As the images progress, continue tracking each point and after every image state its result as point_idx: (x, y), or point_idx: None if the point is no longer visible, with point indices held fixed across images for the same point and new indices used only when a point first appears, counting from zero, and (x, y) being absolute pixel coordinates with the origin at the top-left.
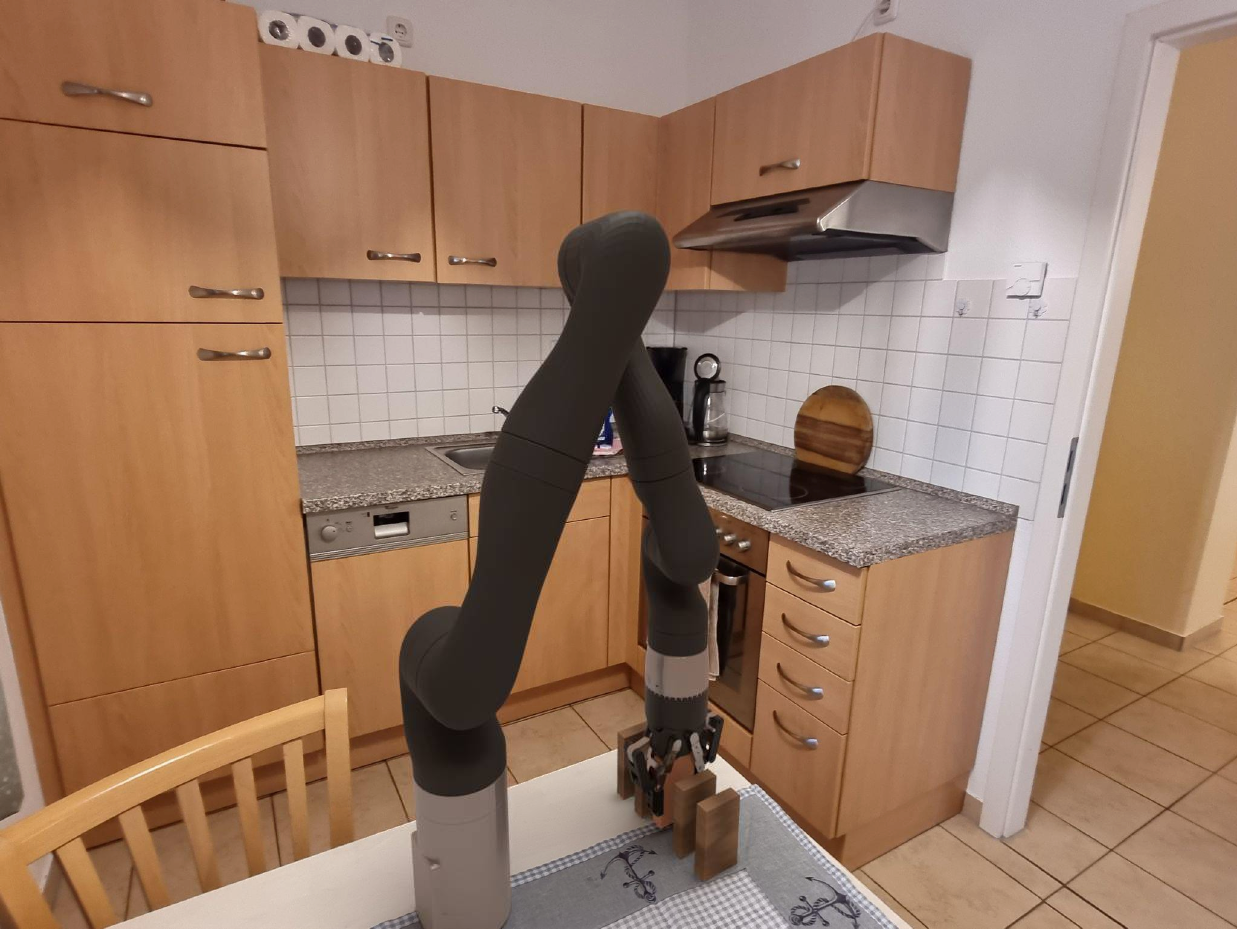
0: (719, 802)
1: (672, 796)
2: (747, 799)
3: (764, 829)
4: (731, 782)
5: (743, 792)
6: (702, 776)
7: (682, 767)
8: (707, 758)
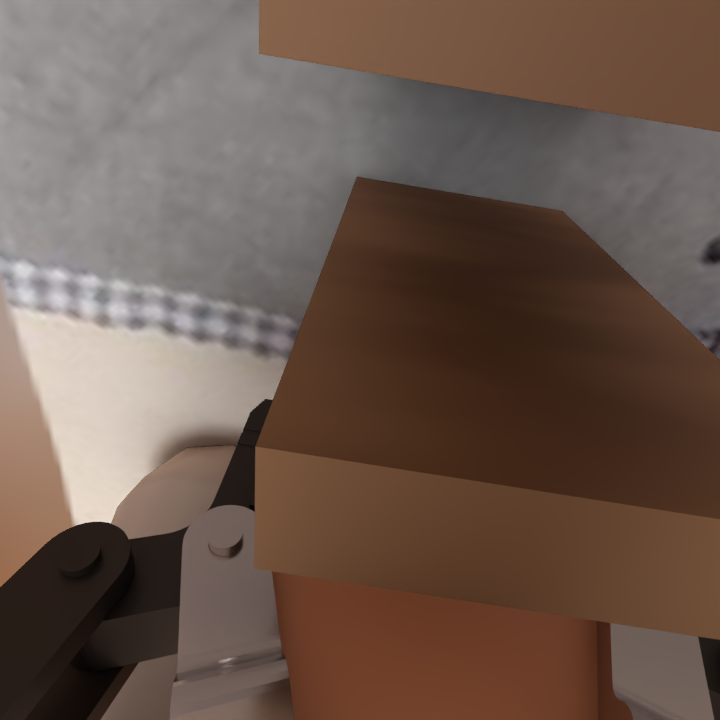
0: None
1: None
2: (33, 248)
3: (64, 36)
4: (47, 354)
5: (27, 287)
6: (430, 542)
7: (394, 641)
8: (123, 584)
